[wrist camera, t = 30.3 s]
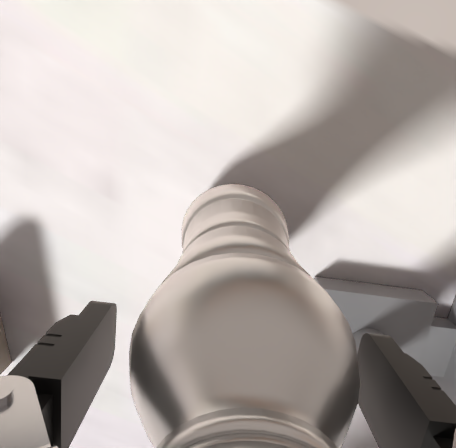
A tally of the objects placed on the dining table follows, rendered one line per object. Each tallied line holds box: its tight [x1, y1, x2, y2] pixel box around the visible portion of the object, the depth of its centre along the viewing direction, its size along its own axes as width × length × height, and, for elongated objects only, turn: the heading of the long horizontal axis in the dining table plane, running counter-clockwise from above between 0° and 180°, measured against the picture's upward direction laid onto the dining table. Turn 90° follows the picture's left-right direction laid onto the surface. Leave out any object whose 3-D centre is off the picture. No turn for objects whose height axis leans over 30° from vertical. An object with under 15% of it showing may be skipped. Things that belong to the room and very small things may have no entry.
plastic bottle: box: [129, 184, 360, 448], centre depth 14 cm, size 6×7×20 cm
